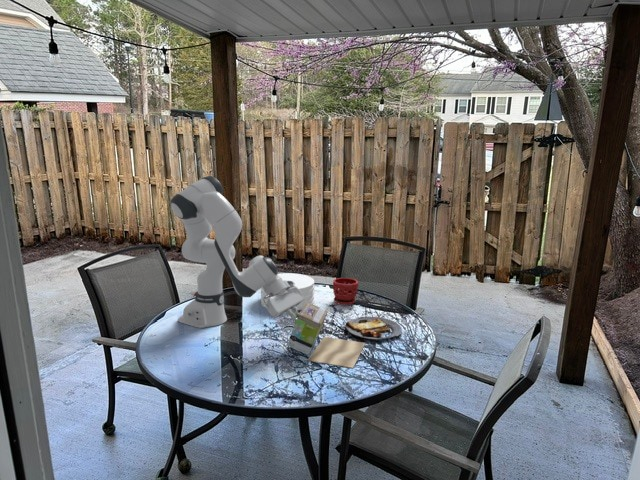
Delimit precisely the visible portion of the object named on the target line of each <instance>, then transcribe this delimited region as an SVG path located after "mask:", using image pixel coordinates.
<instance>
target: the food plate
mask: <svg viewBox="0 0 640 480" xmlns="http://www.w3.org/2000/svg"><path fill="white" fill-rule="evenodd" d="M345 329H346V330H347V331H348V333H349V334H351V335H352V336H357V337H359V338H361V339H366V340H375V341H376V340H387V339H390V338H393V337H398V336H400V335H401V334H402V331H403V328H402V326H401V325H400V324H399V323H398V322H395V320H392V319H389V318H385V317H380V316H370V315H369V316H360V317H357V318H352V319H350V320H349V321H347V322H346V323H345ZM386 333H390V334H389V335H387V336H386Z"/></svg>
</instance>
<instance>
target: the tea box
mask: <svg viewBox="0 0 640 480" xmlns="http://www.w3.org/2000/svg"><path fill="white" fill-rule="evenodd" d="M328 313H329V311H328V310H327V309H324V308H322V307H319V306H317V305H315V304H311V303H308V302H307V303H306V305H305V306H304V308H303V309H302V310H300V312H299V316H298V318H296V321H295V323H294V326H293V328H292V330H291V333H290V336H289V339H288V341H287V343H286V346H287V347H289V348H291V349H294V350H295V351H298V352H300V353H303V354H304V355H307V356H308V355H309V354H310V353H311V351H312V350H313V347H314V346H315V343H316V341H317V339H318V338H319V336H320V335H319V334H320V332H321V329H322V327H323V325H324V322H325V320H326V317H327V314H328Z"/></svg>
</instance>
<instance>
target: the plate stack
mask: <svg viewBox="0 0 640 480" xmlns="http://www.w3.org/2000/svg"><path fill="white" fill-rule="evenodd" d="M278 276H279V277H281V278H282V280H285V281H293V282H294V283H295V285H294V286H296V287H297V288H298V289H299V290H300V291H301V293H302V294H303V296H304V299H305V300H304V301H303V302H302V303H301V304H299V305H297V306H296V307H297V311H302V309H303V308H304V306H305V305H306V303H307V302H308V303H311V304H313V305H315V280H314V278H313V277H311V276H308V275H305V274H300V273H288V272H287V273H284V272H283V273H278ZM264 296H267V294H266V293H265V291H264V290H263V287H262V288H260V304H261V305H262V307H263V308H266V305H265V303H264V301H263V299H264Z"/></svg>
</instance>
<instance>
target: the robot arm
mask: <svg viewBox="0 0 640 480" xmlns="http://www.w3.org/2000/svg"><path fill="white" fill-rule="evenodd" d="M223 194H224V189H223V185H222V183H221V181H219V180H218V178H216V177H214V176H212V175H207V176H204V177H202V178H201V179H199V180H196V181H195V182H192V183H190V184H189V185H188V186H187V187H185V188H184V189H183V190H181V191H180V192H179V193H175V195H174V196H172V198H171V199H170V208H171V210H172V212H173V213H174V215H175V216H176V217H177V218H178V219H181V222H182V225H183V227H184V229H185V232H186V235H187V238H186V240H184V242H183V243H182V246H181V255H182V257H183V258H184V259H186V260H189V261H191V262H194V263H201V264H203V263H204V264H206V267H205V270H203V271H200V273H198V276H197V278H196V280H197V282H196V283H197V291H196V292H195V293H193V294H192V295H193V296H192V297H193V298H194V299H193V300H191V301H190V303H188V304H186V305H185V307H184V308H183V312H182V315H180V316H179V318H178V319H177V320H178V323H182V324H185V325H189V326H192V327H196V328H198V329H203V328H208V327H209V328H210V327H215V326H219V325H223V324H224V323H226V322H227V320H228V318H227V313H226V311H225V306H224V305H225V304H224V301H225V298H224V297H225V295H224V290H223V276H224V272H225V270H226V272H227V273H228V275H229V277H230V280H231V283H232V286H233V289H234V291H235V292H236V294H237V295H238V296H240V297H242V298H251V297H253V295H255V294H256V293H257V292H259V290H261V288H262V287H263V290H264V291H265V293H266V294H267V296H264V299H263V301H264V303H265V305H266V307H265V308H266V310H267V311H268V313H269V315H270V316H271V317H273V318H277V317H279V316H280V315H282V314H284V313H285V314H286V315H288V316H289V317H291V319H293V320H297V318H298V316H299V314H300V312H298V311H299V310H297V307H296V306H297V305H299V304H301V303H302V302H303V301H304V300H305V299H304V296H303V294H302V293H301V291H300V290H299V289H298V288H297V287H296V286H294V285H295V283H294V282H293V281H285V280H282V278H281V277H279V276H278V274H279V268H278V267H277V266H276V264H275V262H274V261H273V259H272V258H271V257H267V256H264V255H257V256H255V257H253V258H251V260H250V261H249V263H248V267H247V268H245V269H243V270H242V271H239V270H238V267H237V266H236V263H235V262H234V260H235V257H236V248H235V246H234V243H235V241H236V240H237V239H238V237H239V235H240V233H241V231H242V229H243V222H242V221H243V220H242V218H241V217H240V215H239V213H238V211H236V209H235V208H234V206H233V205H232V204H231V202H229V200H228V199H227V198H226V197H225V196H223ZM212 230H213V231H214V234H215V239H211V238H208V236H209V235H210V234H211V232H212Z"/></svg>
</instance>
